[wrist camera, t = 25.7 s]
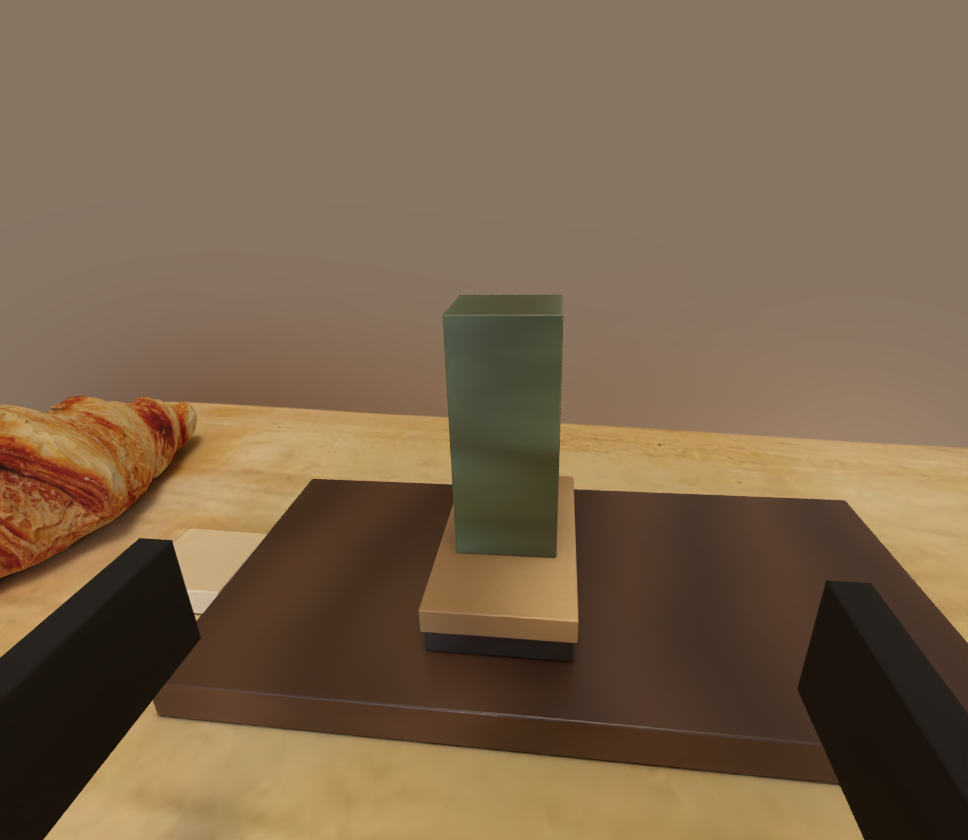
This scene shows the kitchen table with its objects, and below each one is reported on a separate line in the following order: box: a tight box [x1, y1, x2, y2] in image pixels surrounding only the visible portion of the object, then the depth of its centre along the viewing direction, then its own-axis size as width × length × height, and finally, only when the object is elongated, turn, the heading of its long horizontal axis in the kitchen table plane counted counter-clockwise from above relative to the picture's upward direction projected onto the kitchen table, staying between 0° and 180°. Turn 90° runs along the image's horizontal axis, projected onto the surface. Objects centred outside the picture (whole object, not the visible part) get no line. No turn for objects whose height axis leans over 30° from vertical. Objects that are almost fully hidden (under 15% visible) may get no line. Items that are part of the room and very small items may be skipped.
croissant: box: [0, 396, 197, 578], centre depth 28 cm, size 21×10×8 cm, turn 165°
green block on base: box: [418, 295, 579, 661], centre depth 20 cm, size 5×9×10 cm, turn 173°
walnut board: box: [153, 479, 968, 783], centre depth 22 cm, size 26×13×2 cm, turn 83°
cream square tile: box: [173, 528, 267, 614], centre depth 24 cm, size 4×4×1 cm
